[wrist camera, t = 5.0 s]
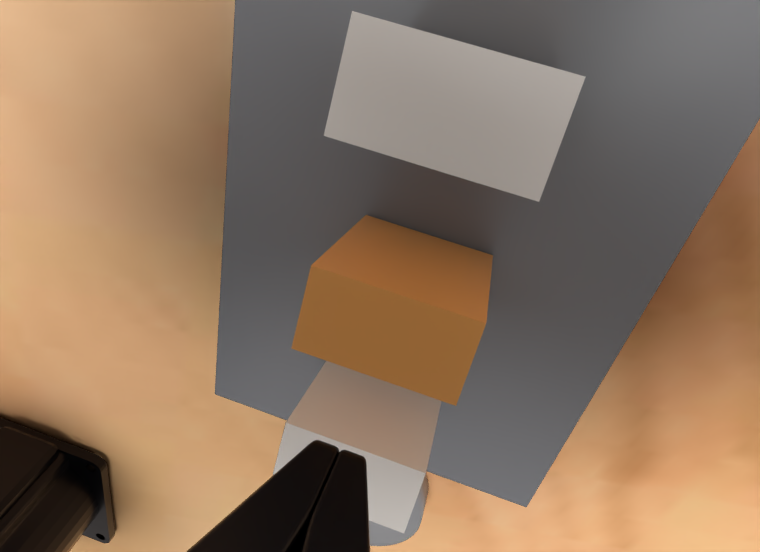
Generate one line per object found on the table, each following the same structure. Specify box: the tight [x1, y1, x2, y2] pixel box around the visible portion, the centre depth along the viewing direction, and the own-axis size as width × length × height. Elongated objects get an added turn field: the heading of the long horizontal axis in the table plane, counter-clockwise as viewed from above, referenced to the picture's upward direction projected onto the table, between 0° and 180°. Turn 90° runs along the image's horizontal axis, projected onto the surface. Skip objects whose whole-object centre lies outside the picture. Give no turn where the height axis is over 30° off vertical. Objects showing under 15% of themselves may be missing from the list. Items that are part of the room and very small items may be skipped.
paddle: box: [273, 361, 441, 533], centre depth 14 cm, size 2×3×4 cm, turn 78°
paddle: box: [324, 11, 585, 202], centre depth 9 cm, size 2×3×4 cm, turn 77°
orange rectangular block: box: [291, 215, 493, 406], centre depth 12 cm, size 2×3×4 cm, turn 77°
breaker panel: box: [215, 0, 760, 507], centre depth 15 cm, size 14×10×2 cm
